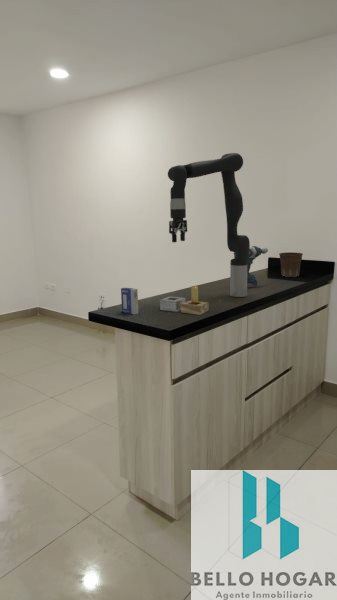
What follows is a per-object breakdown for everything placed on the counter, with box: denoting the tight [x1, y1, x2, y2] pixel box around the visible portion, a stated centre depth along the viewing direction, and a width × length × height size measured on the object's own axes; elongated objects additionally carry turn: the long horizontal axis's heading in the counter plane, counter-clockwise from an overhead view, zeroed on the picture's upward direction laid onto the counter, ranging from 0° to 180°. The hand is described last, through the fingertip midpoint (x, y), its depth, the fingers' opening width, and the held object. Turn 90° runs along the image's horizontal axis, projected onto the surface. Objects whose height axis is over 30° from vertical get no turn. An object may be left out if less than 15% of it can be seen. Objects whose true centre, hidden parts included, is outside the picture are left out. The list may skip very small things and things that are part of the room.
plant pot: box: [278, 252, 303, 278], centre depth 291 cm, size 16×16×16 cm
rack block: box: [180, 300, 210, 316], centre depth 194 cm, size 9×10×4 cm
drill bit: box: [190, 285, 199, 305], centre depth 193 cm, size 3×3×12 cm
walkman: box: [120, 287, 139, 315], centre depth 193 cm, size 8×3×12 cm, turn 56°
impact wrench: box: [233, 245, 268, 289], centre depth 252 cm, size 8×23×25 cm, turn 112°
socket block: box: [159, 296, 187, 313], centre depth 200 cm, size 9×9×5 cm
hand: (178, 241), depth 205 cm, fingers open, 8 cm apart
